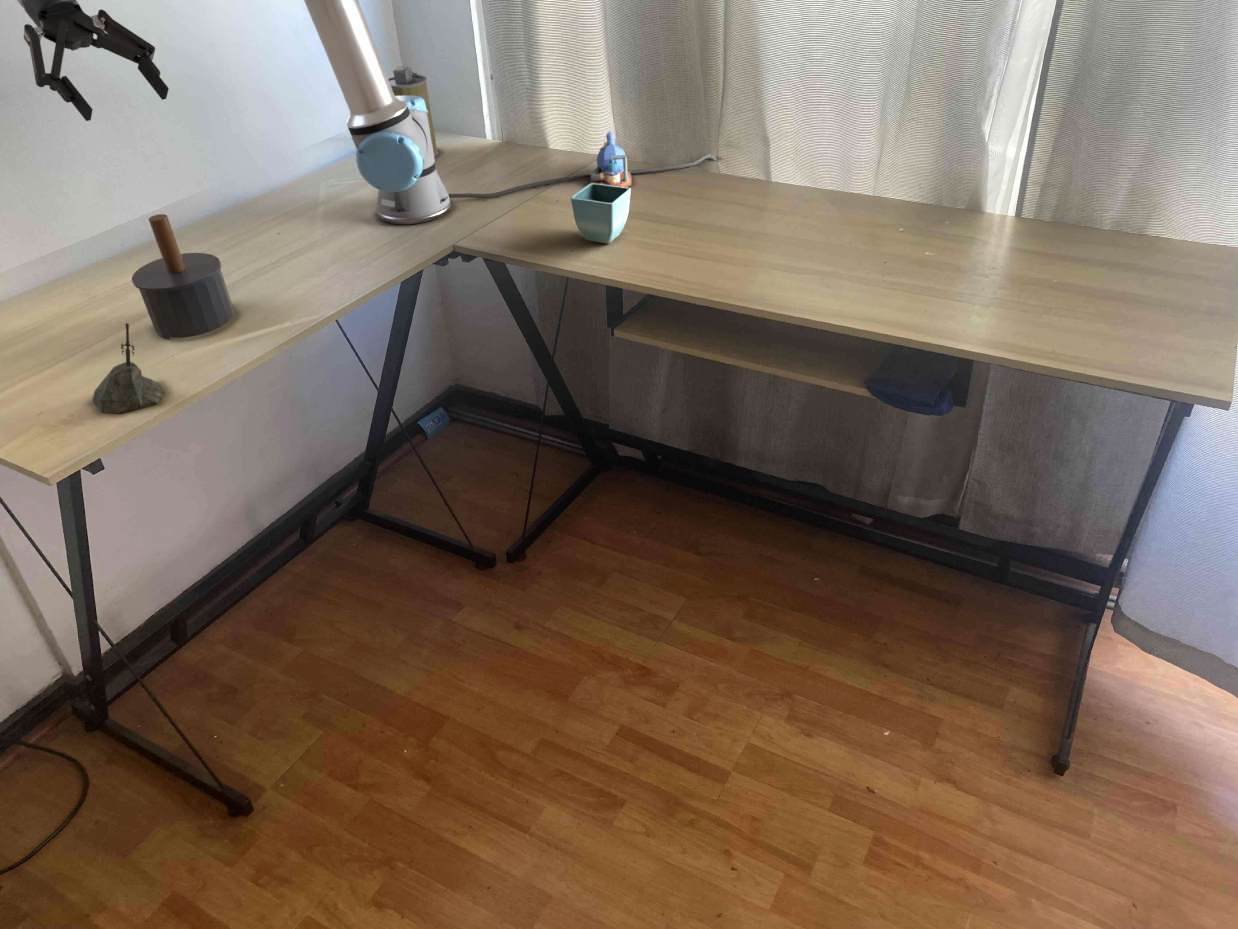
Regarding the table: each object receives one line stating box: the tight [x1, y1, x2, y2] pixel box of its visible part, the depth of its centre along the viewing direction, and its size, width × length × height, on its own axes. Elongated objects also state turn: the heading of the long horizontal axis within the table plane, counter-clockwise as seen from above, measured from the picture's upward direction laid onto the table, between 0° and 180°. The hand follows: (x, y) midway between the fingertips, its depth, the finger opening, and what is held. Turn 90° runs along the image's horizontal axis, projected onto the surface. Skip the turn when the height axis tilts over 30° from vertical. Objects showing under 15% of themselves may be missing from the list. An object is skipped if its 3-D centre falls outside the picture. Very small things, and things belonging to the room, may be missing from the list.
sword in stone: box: [92, 322, 164, 414], centre depth 134 cm, size 10×8×12 cm
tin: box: [138, 268, 235, 341], centre depth 154 cm, size 13×13×9 cm
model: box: [589, 131, 633, 188], centre depth 201 cm, size 12×9×9 cm
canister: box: [388, 66, 439, 158], centre depth 218 cm, size 11×10×20 cm
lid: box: [131, 213, 222, 292], centre depth 149 cm, size 14×14×10 cm
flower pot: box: [570, 183, 632, 244], centre depth 175 cm, size 9×9×9 cm
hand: (128, 104), depth 151 cm, fingers open, 13 cm apart
